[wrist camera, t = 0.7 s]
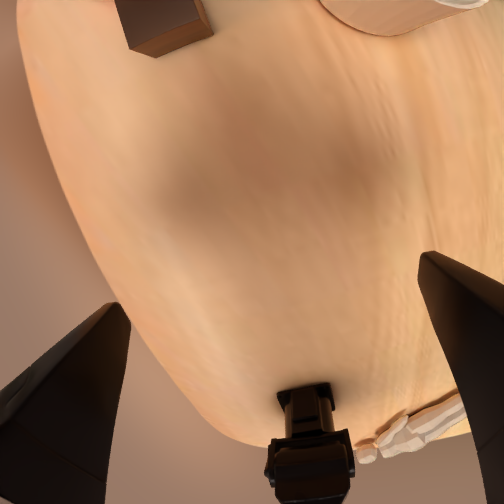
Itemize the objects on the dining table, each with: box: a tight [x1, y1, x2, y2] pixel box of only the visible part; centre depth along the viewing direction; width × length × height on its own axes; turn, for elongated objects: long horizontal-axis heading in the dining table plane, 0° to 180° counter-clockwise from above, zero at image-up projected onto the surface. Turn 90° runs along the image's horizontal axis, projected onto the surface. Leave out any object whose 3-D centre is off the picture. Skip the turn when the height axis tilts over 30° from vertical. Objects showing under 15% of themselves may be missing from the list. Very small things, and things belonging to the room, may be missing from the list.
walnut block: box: [114, 0, 213, 58], centre depth 14 cm, size 4×4×4 cm
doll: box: [356, 393, 467, 464], centre depth 34 cm, size 12×6×25 cm
